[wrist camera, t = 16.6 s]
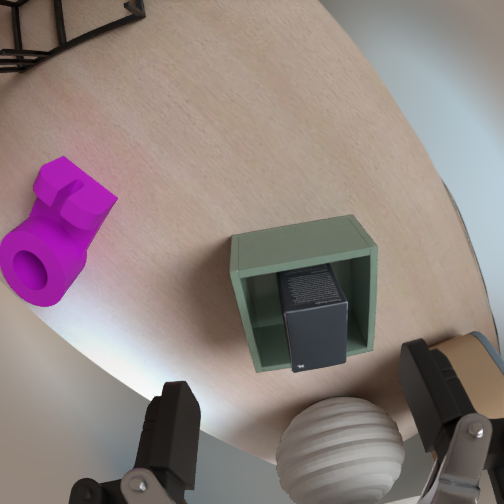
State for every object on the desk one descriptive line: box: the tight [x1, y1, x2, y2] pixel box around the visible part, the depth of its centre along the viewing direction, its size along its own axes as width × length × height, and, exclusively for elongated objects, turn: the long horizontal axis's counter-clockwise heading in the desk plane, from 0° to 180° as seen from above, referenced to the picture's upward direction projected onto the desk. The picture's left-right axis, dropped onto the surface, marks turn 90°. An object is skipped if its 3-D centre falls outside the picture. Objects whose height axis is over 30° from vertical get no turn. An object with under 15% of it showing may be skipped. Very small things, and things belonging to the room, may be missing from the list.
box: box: [276, 263, 348, 373], centre depth 33 cm, size 8×6×11 cm
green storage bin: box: [229, 215, 378, 373], centre depth 35 cm, size 14×14×8 cm
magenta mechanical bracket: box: [0, 156, 118, 307], centre depth 32 cm, size 16×10×6 cm, turn 139°
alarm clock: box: [428, 331, 504, 462], centre depth 38 cm, size 21×10×22 cm, turn 15°
